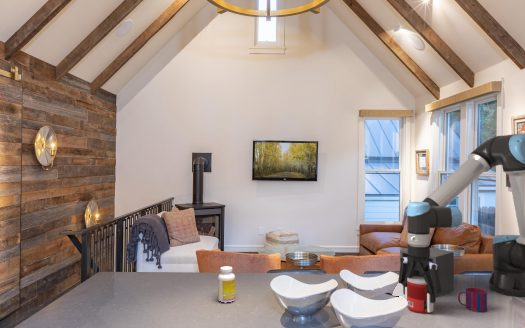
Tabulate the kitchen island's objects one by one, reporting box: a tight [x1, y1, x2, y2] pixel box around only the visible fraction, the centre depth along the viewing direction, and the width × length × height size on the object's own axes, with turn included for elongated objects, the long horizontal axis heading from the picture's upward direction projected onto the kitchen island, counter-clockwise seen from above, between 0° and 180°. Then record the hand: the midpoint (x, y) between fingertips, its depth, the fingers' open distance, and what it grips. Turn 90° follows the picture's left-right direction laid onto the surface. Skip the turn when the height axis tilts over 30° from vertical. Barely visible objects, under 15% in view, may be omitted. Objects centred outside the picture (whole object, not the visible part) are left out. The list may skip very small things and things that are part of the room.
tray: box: [391, 283, 405, 297], centre depth 152 cm, size 15×15×6 cm
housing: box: [399, 247, 455, 298], centre depth 159 cm, size 16×14×16 cm
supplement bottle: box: [217, 265, 236, 303], centre depth 146 cm, size 7×7×13 cm
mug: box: [457, 286, 488, 313], centre depth 137 cm, size 7×10×7 cm
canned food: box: [407, 276, 429, 314], centre depth 136 cm, size 8×8×11 cm
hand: (418, 307), depth 136 cm, fingers closed on canned food, 8 cm apart
